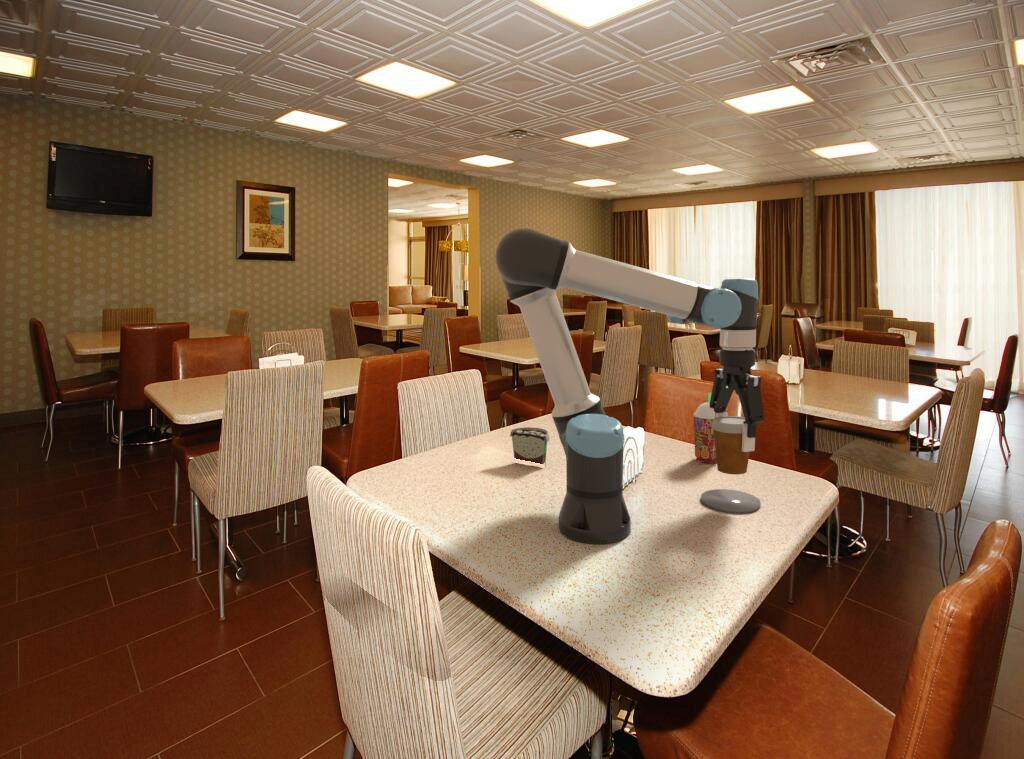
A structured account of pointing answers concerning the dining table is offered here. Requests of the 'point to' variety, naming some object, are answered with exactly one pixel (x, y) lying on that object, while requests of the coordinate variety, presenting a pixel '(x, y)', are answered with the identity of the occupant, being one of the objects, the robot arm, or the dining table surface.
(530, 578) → the dining table surface
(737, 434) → the disposable coffee cup
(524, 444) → the food container
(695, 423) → the smoothie
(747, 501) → the coaster
